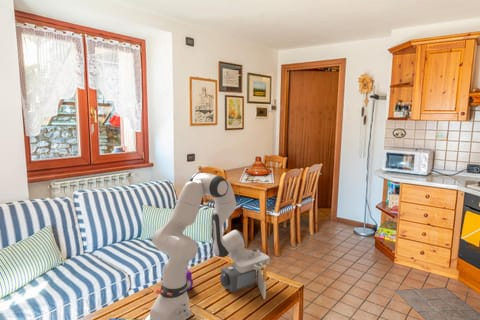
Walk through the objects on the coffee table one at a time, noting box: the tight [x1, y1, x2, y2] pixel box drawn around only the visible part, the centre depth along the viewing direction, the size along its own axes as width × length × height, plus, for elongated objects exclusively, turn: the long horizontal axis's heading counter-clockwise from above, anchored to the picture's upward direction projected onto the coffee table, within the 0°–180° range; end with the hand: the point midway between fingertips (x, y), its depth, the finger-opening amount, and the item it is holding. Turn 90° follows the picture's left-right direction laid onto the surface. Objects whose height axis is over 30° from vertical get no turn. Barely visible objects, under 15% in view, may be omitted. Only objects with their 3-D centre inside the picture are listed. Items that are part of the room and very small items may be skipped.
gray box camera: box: [219, 264, 257, 293], centre depth 180 cm, size 11×18×10 cm, turn 125°
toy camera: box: [186, 269, 194, 292], centre depth 175 cm, size 11×14×10 cm
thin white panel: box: [255, 265, 267, 300], centre depth 174 cm, size 2×16×17 cm, turn 10°
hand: (262, 269), depth 167 cm, fingers closed
